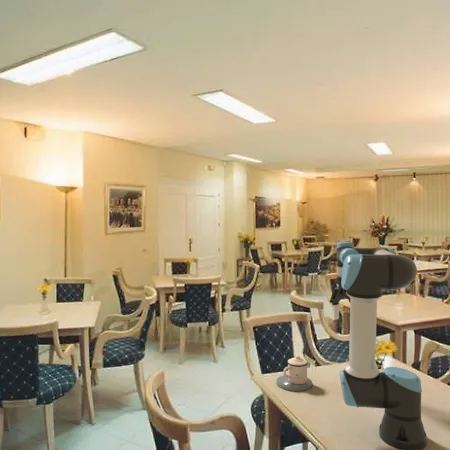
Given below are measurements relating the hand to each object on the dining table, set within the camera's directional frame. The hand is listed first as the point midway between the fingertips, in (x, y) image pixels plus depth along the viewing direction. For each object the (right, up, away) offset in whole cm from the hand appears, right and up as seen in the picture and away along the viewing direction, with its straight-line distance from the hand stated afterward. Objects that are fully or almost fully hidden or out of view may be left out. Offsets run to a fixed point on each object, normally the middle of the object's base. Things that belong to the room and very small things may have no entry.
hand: (345, 322), depth 186 cm
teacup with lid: (-23, -28, +2) cm, 36 cm away
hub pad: (-23, -29, +2) cm, 37 cm away
